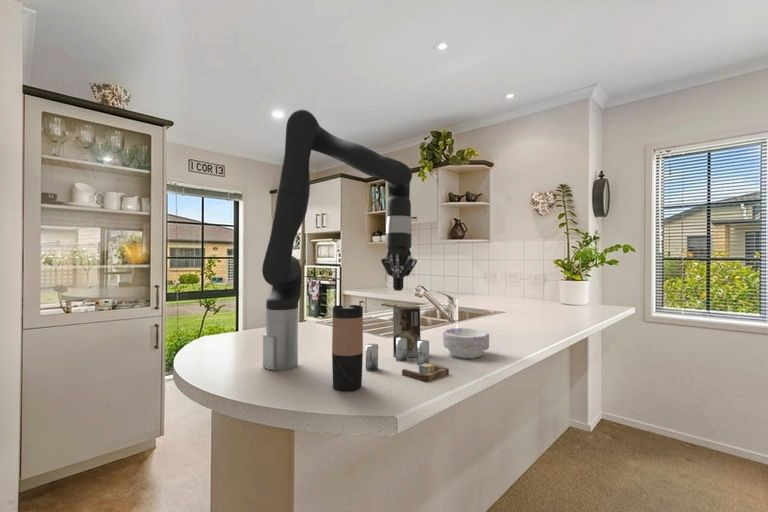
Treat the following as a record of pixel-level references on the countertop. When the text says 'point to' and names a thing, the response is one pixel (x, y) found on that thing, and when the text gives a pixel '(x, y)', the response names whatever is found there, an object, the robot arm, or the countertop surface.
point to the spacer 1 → (371, 357)
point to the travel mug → (347, 347)
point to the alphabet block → (426, 368)
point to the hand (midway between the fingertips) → (398, 290)
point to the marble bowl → (465, 342)
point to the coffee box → (406, 327)
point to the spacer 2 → (401, 348)
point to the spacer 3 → (422, 352)
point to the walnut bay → (427, 377)
